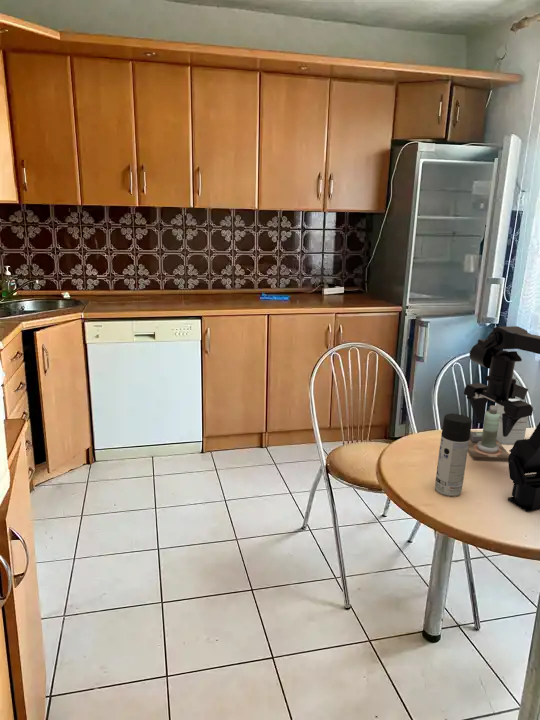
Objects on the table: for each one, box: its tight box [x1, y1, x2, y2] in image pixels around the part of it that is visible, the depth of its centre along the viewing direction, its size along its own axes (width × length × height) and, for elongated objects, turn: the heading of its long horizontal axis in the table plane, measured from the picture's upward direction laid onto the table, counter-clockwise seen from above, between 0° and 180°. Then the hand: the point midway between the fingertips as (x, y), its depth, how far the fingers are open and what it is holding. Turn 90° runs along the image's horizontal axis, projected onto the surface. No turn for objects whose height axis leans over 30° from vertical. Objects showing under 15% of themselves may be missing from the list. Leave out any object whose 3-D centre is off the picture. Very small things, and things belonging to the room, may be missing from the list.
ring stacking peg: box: [477, 405, 500, 454], centre depth 162 cm, size 6×6×14 cm
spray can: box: [434, 413, 473, 498], centre depth 139 cm, size 7×7×20 cm
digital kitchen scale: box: [467, 430, 510, 463], centre depth 166 cm, size 14×11×4 cm
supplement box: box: [495, 398, 529, 446], centre depth 173 cm, size 7×7×13 cm
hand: (492, 429), depth 148 cm, fingers open, 9 cm apart
